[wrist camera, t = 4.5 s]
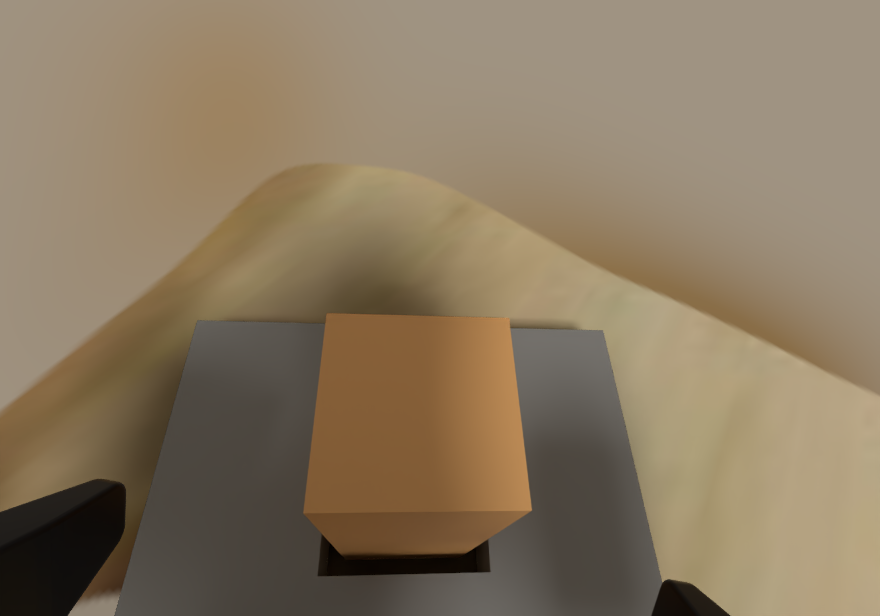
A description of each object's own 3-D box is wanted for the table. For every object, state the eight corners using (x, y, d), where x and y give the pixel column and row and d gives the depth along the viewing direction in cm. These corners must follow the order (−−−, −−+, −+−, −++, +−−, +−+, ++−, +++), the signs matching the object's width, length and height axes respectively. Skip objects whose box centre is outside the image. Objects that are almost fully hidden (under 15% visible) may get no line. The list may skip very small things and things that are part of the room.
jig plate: (649, 692, 15) (691, 706, 13) (126, 719, 14) (79, 739, 12) (581, 357, 22) (602, 330, 20) (217, 349, 20) (197, 320, 18)
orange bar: (459, 557, 17) (531, 510, 9) (345, 559, 17) (303, 512, 8) (454, 445, 19) (509, 317, 11) (353, 444, 19) (326, 313, 10)
